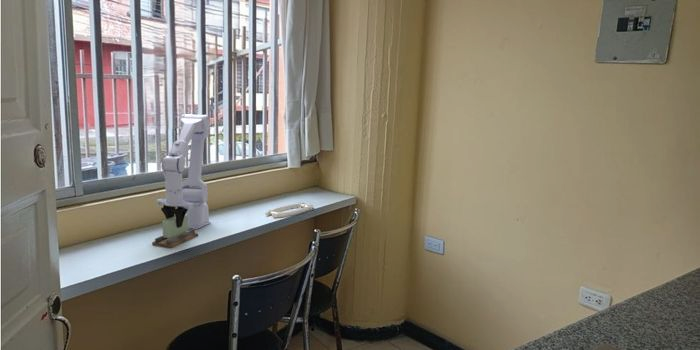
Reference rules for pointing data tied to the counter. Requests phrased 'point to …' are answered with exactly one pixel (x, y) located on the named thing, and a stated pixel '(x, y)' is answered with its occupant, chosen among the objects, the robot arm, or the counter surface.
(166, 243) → the cabinet track
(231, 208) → the counter surface
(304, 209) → the white rectangular tray
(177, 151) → the robot arm
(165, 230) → the pale green block
